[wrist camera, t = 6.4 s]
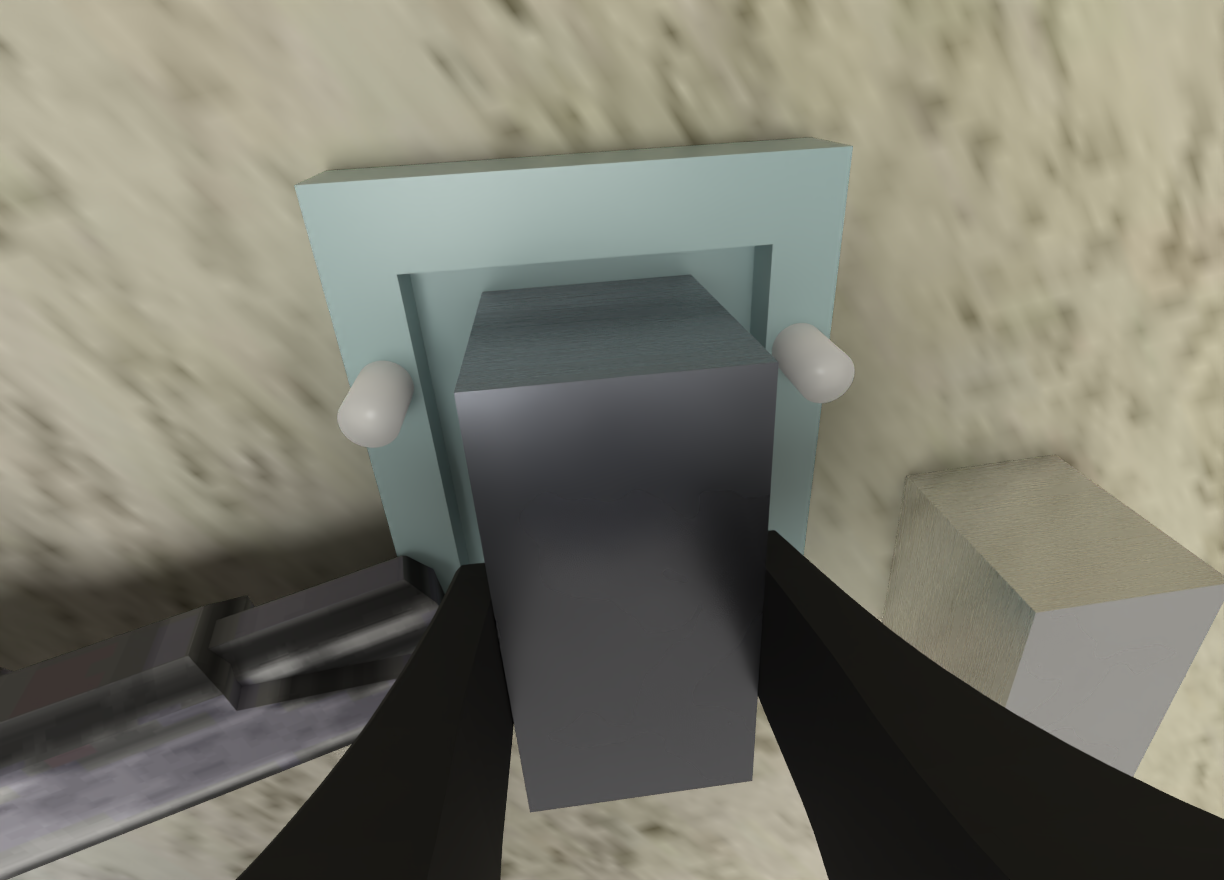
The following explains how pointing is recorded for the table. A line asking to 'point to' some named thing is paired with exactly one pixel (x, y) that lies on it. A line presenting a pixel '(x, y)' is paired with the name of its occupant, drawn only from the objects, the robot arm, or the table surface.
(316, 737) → the handgun
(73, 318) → the table surface
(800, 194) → the tray
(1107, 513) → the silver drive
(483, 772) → the robot arm
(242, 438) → the table surface
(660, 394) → the dark grey rectangular block
